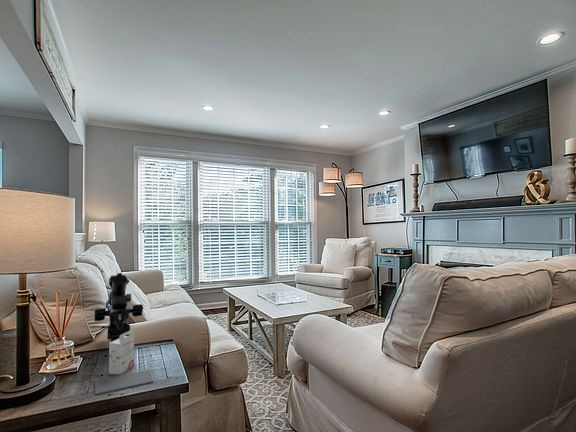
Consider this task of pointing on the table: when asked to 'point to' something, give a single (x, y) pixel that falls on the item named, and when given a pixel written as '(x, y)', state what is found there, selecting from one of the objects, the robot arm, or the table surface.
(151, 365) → the table surface
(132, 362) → the ink cartridge box
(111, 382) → the charcoal mat
